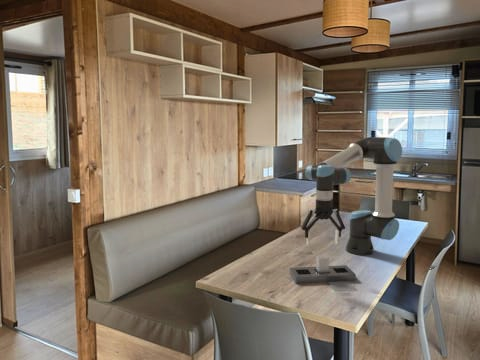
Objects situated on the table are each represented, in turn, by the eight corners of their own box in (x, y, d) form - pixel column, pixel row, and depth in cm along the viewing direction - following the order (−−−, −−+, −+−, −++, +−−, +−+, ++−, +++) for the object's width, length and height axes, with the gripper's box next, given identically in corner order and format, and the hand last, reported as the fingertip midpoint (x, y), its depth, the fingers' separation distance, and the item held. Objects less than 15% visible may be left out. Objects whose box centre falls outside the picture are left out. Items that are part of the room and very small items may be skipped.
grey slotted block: (345, 273, 202) (346, 265, 201) (355, 282, 190) (355, 274, 189) (289, 275, 198) (289, 267, 198) (295, 285, 187) (295, 277, 186)
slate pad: (349, 283, 189) (349, 281, 189) (357, 292, 180) (357, 290, 179) (327, 284, 188) (328, 282, 188) (335, 293, 178) (335, 291, 178)
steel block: (325, 275, 196) (325, 254, 195) (328, 278, 192) (328, 258, 190) (315, 275, 196) (316, 255, 194) (318, 279, 191) (319, 258, 190)
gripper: (299, 201, 183) (298, 247, 186) (353, 200, 186) (351, 246, 189) (295, 197, 190) (294, 242, 194) (347, 197, 193) (345, 241, 196)
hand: (322, 244), depth 191 cm, fingers open, 13 cm apart
